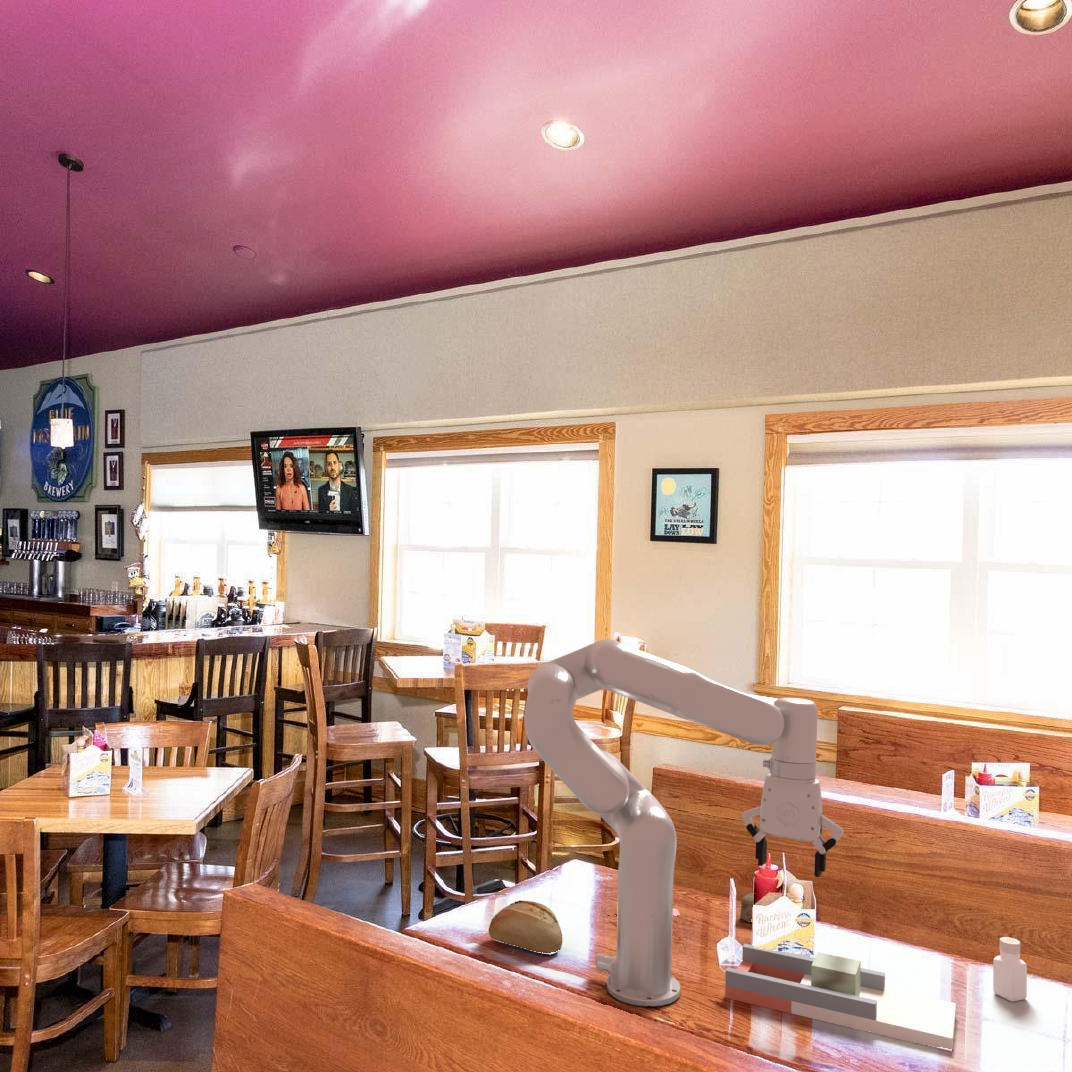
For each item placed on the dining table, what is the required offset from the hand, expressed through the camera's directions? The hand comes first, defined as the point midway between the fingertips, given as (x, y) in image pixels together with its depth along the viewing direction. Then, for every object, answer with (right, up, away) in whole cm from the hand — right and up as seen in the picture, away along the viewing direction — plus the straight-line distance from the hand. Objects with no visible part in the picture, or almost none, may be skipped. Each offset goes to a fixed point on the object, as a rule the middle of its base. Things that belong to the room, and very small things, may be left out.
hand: (789, 869), depth 156 cm
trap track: (+7, -21, -6) cm, 22 cm away
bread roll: (-46, -21, +15) cm, 53 cm away
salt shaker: (+38, -22, -1) cm, 44 cm away
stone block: (+4, -23, +30) cm, 38 cm away
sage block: (+6, -19, -6) cm, 20 cm away
